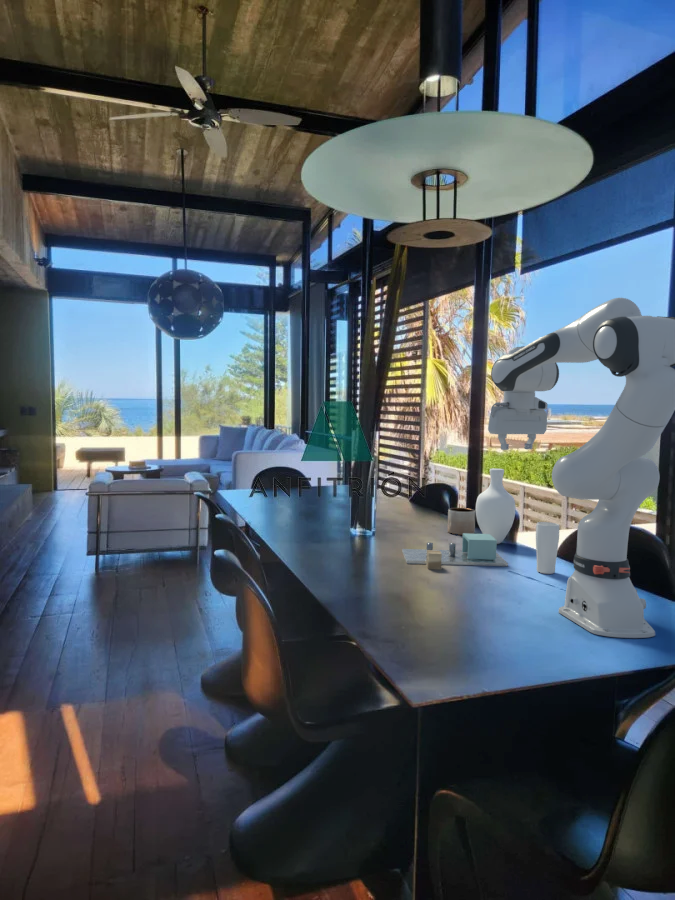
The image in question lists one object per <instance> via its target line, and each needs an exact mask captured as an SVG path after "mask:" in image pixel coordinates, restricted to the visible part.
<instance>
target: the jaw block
mask: <svg viewBox="0 0 675 900" xmlns="http://www.w3.org/2000/svg"><path fill="white" fill-rule="evenodd" d="M426 550H427V549H426ZM437 550H438V549H433V550H427V564H425V565H426V568H427V569H428V570H442V564H441V559H442V553H441V552H440V551H437Z"/></svg>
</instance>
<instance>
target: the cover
mask: <svg viewBox="0 0 675 900" xmlns="http://www.w3.org/2000/svg"><path fill="white" fill-rule="evenodd" d="M461 544H462V547H461V551H462V552H468V559H490V560H496V553H497V546H498V544H497V540H496V539H495V538H493V537H492V536H491V535H490V534H483V533H474V534H469V533H463V535H462V543H461Z"/></svg>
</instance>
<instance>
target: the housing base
mask: <svg viewBox="0 0 675 900" xmlns="http://www.w3.org/2000/svg"><path fill="white" fill-rule="evenodd" d="M433 545H434V544H433V542H426V549H425V548H424V549H423V548H422V549H420V548H419V549H417V548H401V552H402V555H403V558H404V560H405V562H406V564H408V565H409V564H411V565H412V564H415V565H416V564H417V565H426V564H427V550H434V549H433V548H434V547H433ZM448 545H449V547H448V549H436V550H437V551H440V552H441V553H442V559H441V565H447V566H448V565H450V566H483V567H484V566H485V567H486V566H487V567H489V566H490V567H508V565H509V563H508V562H507V561H506V560H505V558H503V557H502V556H501V555H500V554H499V553H498V552H496V560H490V559H468V552H462V549H461V550H460V549H459V550H458V549H457V550H456V545H457V544H456V543H454V542H453V543H452V542H450V543H449V544H448Z"/></svg>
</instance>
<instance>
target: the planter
mask: <svg viewBox="0 0 675 900" xmlns="http://www.w3.org/2000/svg"><path fill="white" fill-rule="evenodd" d="M447 511H448V512H447V526H446V527H447V532H448V533H449V534H451V533H452V534H451V535H454V534H458V535H457V536H463V533H469V534H475V532H476V531H475V530H476V528H475V527H476V509H472V508H467V507H451V508H450V507H449V508H448V510H447Z"/></svg>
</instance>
